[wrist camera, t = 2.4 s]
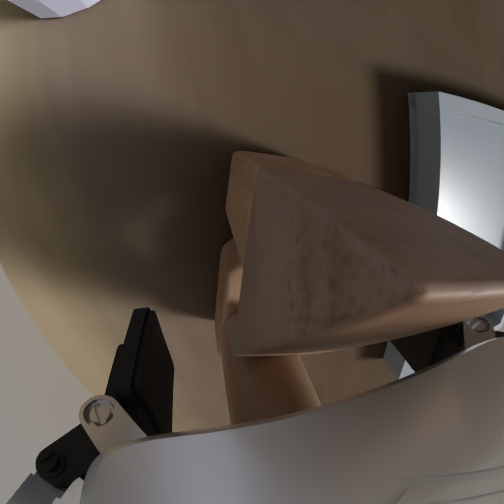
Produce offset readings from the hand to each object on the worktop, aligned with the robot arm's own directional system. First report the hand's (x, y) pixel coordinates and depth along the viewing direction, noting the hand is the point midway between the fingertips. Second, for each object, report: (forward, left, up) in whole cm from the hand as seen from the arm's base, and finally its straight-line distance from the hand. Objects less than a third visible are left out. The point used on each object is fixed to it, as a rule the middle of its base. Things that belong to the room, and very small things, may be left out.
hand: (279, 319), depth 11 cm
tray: (+2, +19, -7) cm, 20 cm away
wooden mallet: (0, 0, -7) cm, 7 cm away
